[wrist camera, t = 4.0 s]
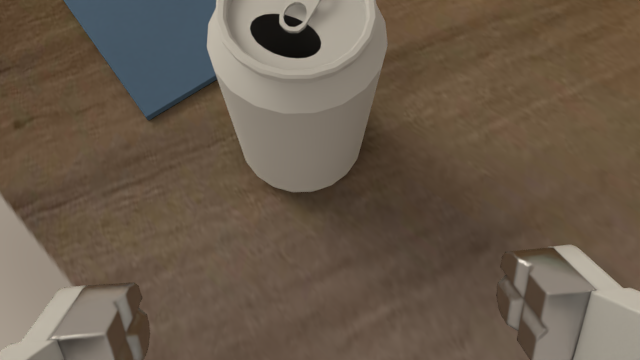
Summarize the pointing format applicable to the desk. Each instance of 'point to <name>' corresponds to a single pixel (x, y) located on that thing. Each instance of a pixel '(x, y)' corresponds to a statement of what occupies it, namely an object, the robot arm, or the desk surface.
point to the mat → (152, 46)
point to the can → (298, 83)
